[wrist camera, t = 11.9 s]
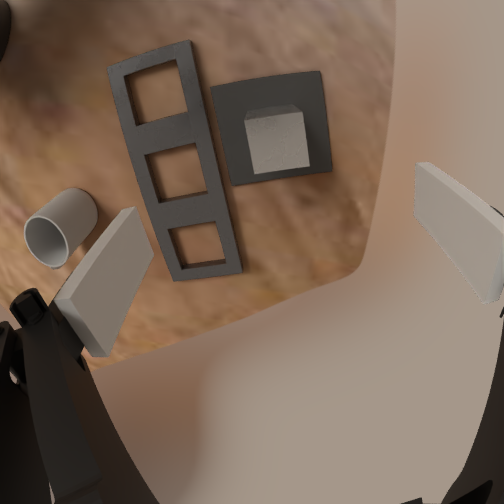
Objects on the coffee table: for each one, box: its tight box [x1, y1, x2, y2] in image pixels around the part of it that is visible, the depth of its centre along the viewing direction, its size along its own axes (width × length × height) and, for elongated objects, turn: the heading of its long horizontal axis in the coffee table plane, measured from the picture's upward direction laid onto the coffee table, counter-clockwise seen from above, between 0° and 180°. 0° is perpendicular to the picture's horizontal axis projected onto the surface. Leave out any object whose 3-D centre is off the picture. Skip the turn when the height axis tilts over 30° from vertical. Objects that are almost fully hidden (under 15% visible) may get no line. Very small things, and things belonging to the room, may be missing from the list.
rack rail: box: [107, 40, 243, 282], centre depth 35 cm, size 30×10×1 cm, turn 10°
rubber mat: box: [210, 71, 332, 186], centre depth 33 cm, size 12×12×1 cm
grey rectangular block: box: [244, 104, 310, 174], centre depth 29 cm, size 5×5×8 cm
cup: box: [24, 188, 98, 269], centre depth 35 cm, size 7×10×9 cm
